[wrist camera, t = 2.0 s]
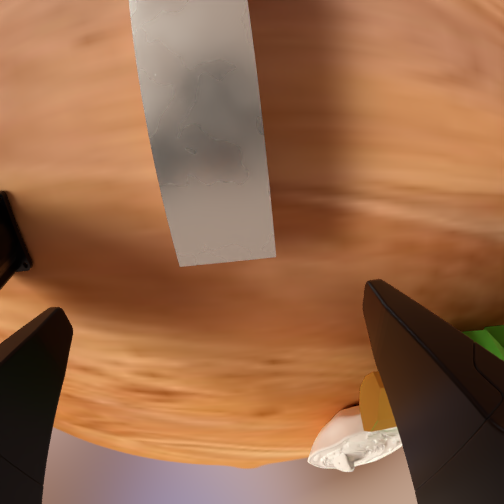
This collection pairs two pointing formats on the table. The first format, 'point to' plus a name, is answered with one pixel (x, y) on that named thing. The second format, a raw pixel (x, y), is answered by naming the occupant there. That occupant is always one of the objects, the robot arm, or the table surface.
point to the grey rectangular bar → (205, 127)
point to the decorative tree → (374, 395)
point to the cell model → (351, 442)
